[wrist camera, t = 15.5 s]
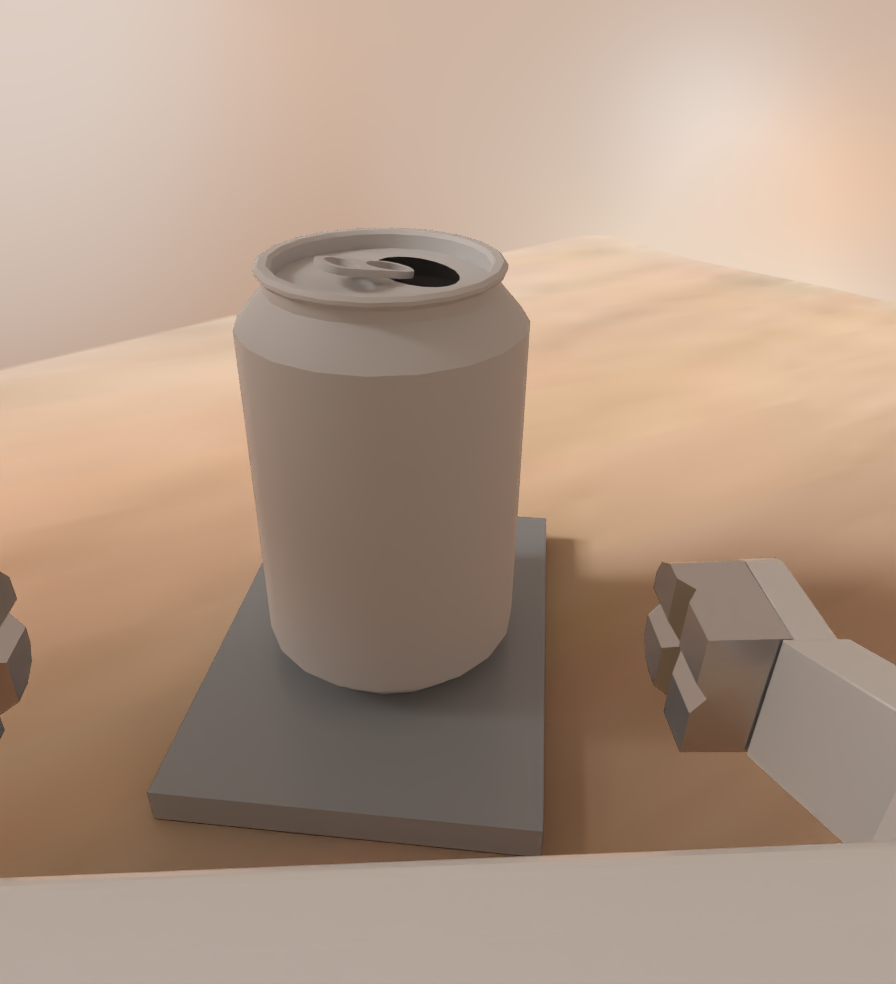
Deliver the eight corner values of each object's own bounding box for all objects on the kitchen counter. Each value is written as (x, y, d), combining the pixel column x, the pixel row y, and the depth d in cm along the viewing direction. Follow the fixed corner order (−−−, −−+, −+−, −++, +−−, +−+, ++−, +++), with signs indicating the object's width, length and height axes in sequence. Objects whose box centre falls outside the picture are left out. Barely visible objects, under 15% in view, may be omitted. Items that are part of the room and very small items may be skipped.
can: (558, 650, 26) (600, 264, 19) (343, 755, 22) (309, 323, 16) (427, 535, 31) (427, 203, 25) (236, 605, 27) (179, 237, 21)
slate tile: (540, 857, 21) (543, 831, 20) (154, 818, 22) (147, 792, 21) (544, 539, 33) (546, 518, 32) (295, 522, 33) (293, 501, 33)
